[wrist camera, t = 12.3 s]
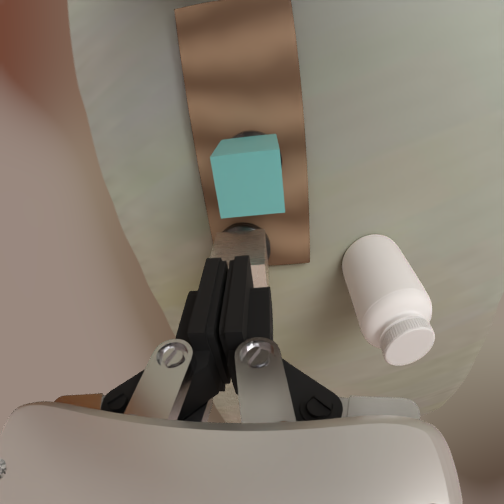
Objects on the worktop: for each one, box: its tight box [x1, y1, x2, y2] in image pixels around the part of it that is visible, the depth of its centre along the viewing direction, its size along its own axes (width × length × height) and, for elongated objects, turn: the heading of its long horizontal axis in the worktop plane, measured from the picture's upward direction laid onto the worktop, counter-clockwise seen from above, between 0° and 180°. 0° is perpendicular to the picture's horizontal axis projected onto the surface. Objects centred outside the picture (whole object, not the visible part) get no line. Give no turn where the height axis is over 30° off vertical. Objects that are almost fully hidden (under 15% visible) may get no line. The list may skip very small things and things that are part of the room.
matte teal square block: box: [210, 134, 285, 219], centre depth 26 cm, size 5×5×7 cm
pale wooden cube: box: [210, 222, 270, 288], centre depth 32 cm, size 6×6×8 cm
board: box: [174, 0, 310, 266], centre depth 29 cm, size 30×11×1 cm, turn 6°
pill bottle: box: [342, 234, 435, 366], centre depth 30 cm, size 8×8×15 cm
